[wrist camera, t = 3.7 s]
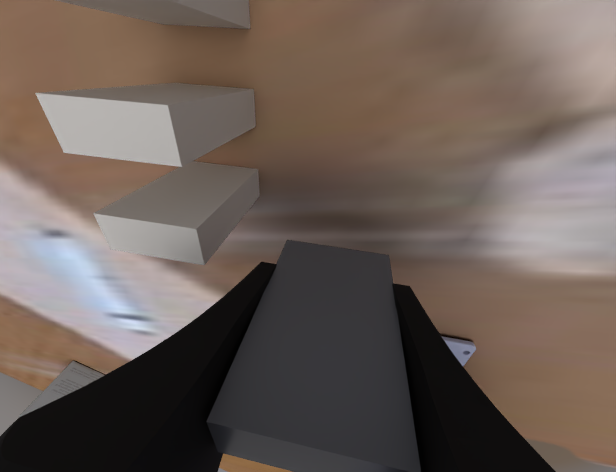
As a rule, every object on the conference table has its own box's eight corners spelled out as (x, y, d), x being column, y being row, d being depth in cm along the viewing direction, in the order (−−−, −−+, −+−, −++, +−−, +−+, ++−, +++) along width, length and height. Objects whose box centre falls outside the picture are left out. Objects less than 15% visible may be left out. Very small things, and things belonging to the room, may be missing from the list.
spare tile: (379, 285, 12) (397, 498, 6) (286, 270, 12) (217, 452, 6) (388, 255, 11) (421, 474, 5) (287, 239, 11) (206, 421, 5)
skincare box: (70, 372, 40) (18, 427, 34) (73, 359, 36) (16, 416, 30) (107, 389, 41) (63, 445, 35) (113, 377, 38) (66, 436, 32)
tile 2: (259, 196, 16) (204, 265, 11) (196, 187, 17) (110, 249, 11) (258, 168, 15) (196, 228, 10) (190, 160, 16) (93, 213, 10)
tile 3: (255, 126, 14) (181, 166, 8) (182, 119, 14) (64, 152, 9) (253, 89, 13) (167, 105, 7) (174, 82, 13) (35, 92, 8)
